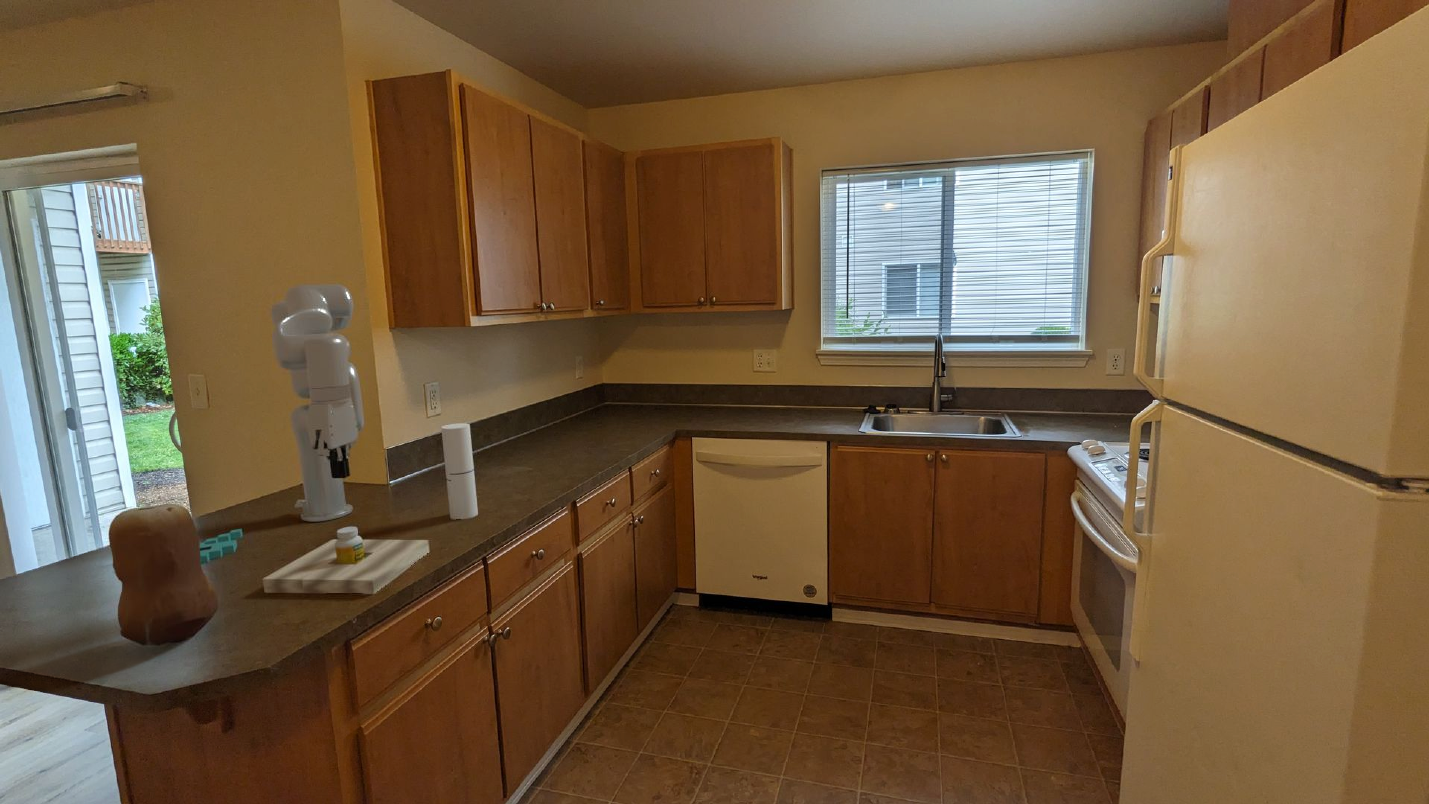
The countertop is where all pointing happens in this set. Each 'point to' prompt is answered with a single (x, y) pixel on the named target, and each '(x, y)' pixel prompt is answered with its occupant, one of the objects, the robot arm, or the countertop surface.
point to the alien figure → (219, 546)
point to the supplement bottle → (349, 546)
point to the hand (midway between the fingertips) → (341, 477)
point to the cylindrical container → (459, 470)
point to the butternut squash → (160, 575)
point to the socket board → (347, 568)
